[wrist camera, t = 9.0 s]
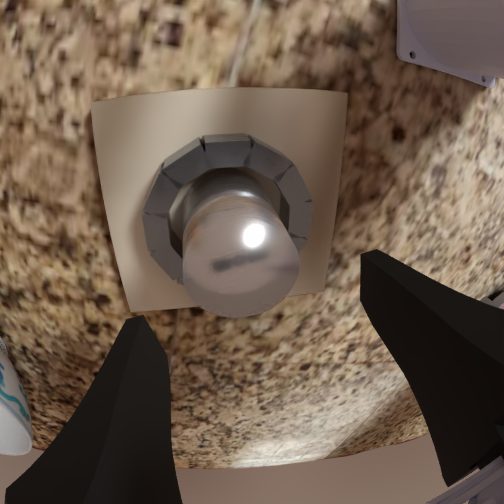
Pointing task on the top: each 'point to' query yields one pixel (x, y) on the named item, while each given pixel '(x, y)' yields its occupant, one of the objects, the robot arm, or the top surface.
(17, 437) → the chinaware
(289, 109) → the birch board
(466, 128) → the top surface
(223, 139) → the ring collar
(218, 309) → the cylinder
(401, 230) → the top surface
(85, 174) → the top surface
